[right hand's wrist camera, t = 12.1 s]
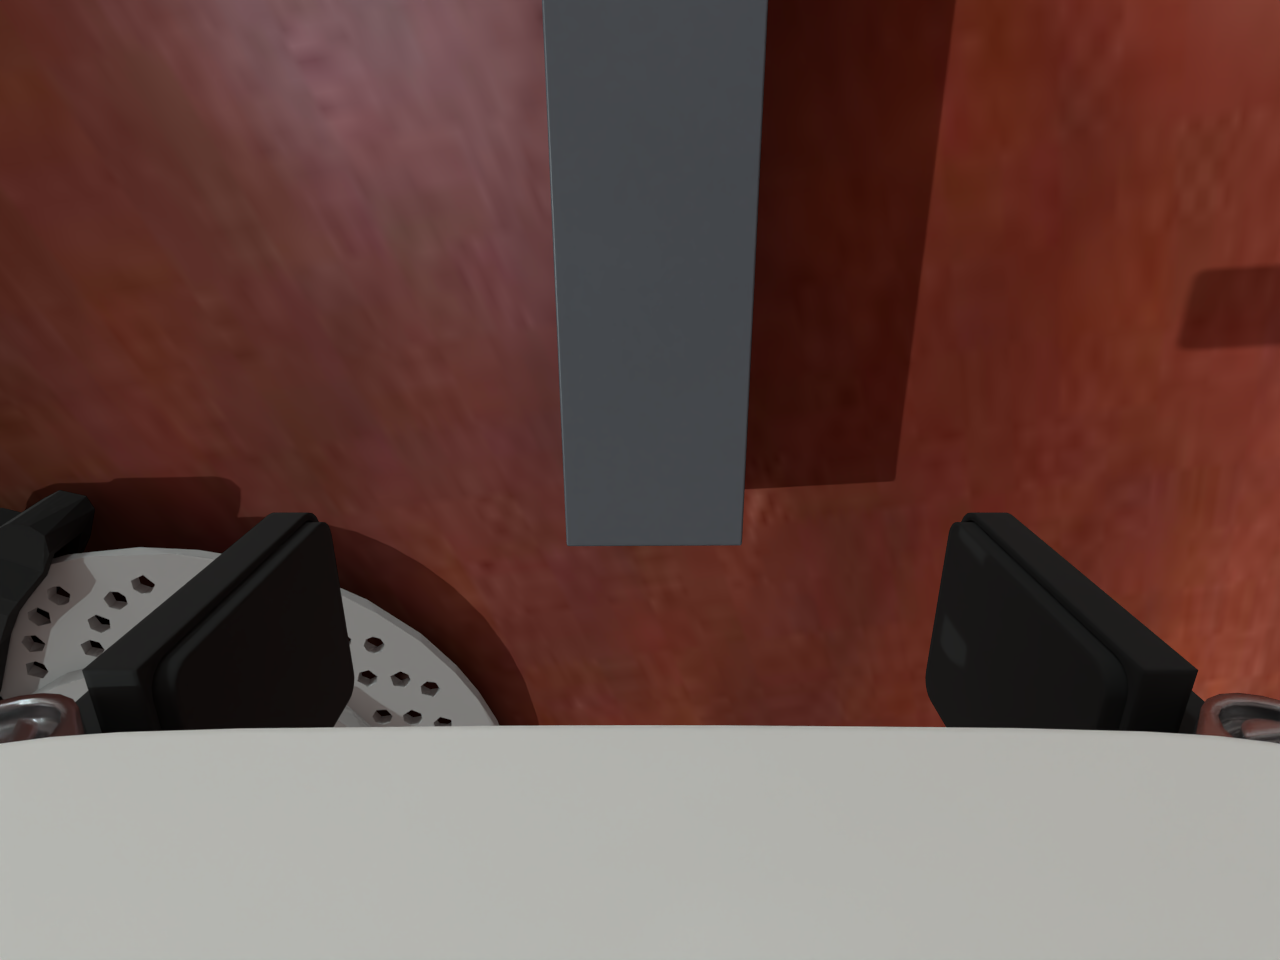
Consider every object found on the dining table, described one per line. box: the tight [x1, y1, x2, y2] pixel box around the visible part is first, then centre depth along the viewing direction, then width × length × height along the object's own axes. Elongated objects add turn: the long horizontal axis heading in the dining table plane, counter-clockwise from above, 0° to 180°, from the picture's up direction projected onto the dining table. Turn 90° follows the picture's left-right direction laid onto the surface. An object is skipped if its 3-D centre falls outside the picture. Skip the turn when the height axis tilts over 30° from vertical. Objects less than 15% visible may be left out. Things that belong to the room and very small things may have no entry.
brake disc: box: [0, 490, 499, 727], centre depth 35 cm, size 32×30×5 cm
